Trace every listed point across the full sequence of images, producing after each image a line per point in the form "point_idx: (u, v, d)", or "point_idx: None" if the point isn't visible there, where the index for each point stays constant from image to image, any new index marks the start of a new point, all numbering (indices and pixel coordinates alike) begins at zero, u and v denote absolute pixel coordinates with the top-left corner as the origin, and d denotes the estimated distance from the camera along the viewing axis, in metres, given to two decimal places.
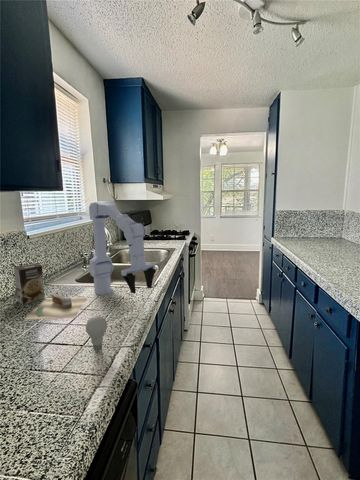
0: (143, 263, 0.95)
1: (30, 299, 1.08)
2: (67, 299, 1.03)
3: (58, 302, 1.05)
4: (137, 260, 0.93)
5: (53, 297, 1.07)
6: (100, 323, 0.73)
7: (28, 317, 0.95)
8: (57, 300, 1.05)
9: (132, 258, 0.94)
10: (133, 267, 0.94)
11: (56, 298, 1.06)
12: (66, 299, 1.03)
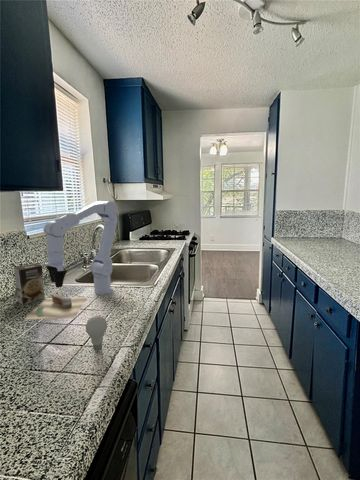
0: (48, 259, 0.99)
1: (30, 299, 1.08)
2: (67, 299, 1.03)
3: (58, 302, 1.05)
4: None
5: (53, 297, 1.07)
6: (100, 323, 0.73)
7: (28, 317, 0.95)
8: (57, 300, 1.05)
9: None
10: None
11: (56, 298, 1.06)
12: (66, 299, 1.03)
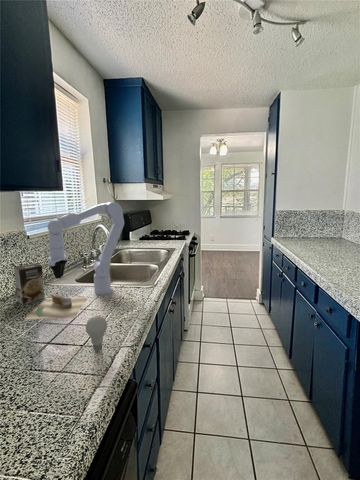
0: None
1: (30, 299, 1.08)
2: (67, 299, 1.03)
3: (58, 302, 1.05)
4: None
5: (53, 297, 1.07)
6: (100, 323, 0.73)
7: (28, 317, 0.95)
8: (57, 300, 1.05)
9: None
10: None
11: (56, 298, 1.06)
12: (66, 299, 1.03)
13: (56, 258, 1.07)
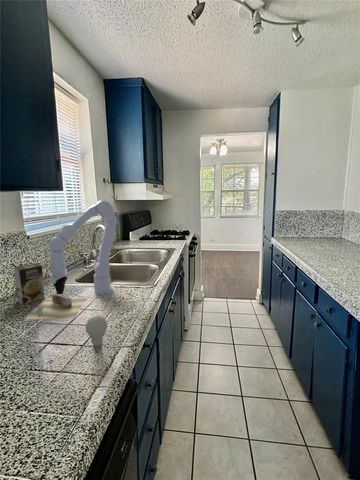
0: None
1: (30, 299, 1.08)
2: (67, 299, 1.03)
3: (58, 302, 1.05)
4: None
5: (53, 297, 1.07)
6: (100, 323, 0.73)
7: (28, 317, 0.95)
8: (57, 300, 1.05)
9: None
10: None
11: (56, 298, 1.06)
12: (66, 299, 1.03)
13: (57, 275, 1.08)
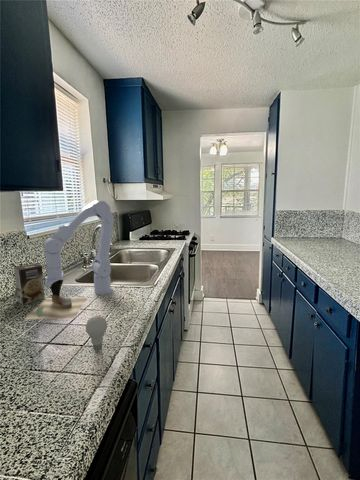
0: None
1: (30, 299, 1.08)
2: (67, 299, 1.03)
3: (58, 302, 1.05)
4: None
5: (53, 297, 1.06)
6: (100, 323, 0.73)
7: (28, 317, 0.95)
8: (57, 300, 1.05)
9: None
10: None
11: (56, 298, 1.05)
12: (66, 299, 1.03)
13: (53, 278, 1.04)
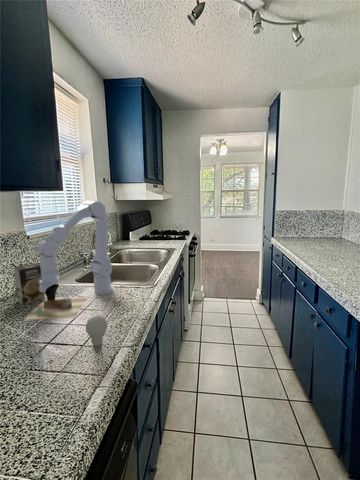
0: None
1: (30, 299, 1.08)
2: (67, 299, 1.04)
3: (54, 305, 1.02)
4: None
5: (46, 302, 1.01)
6: (100, 323, 0.73)
7: (28, 317, 0.95)
8: (52, 303, 1.02)
9: None
10: None
11: (51, 302, 1.02)
12: (66, 299, 1.03)
13: (48, 282, 0.99)
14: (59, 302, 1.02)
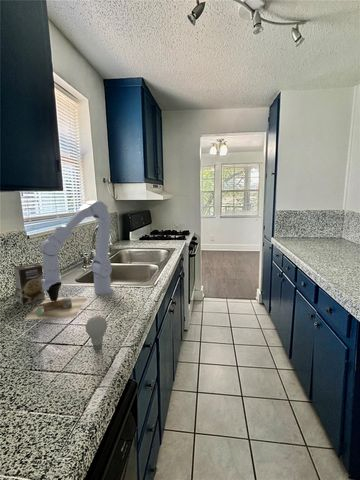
0: None
1: (30, 299, 1.08)
2: (67, 299, 1.04)
3: (55, 307, 1.01)
4: None
5: (46, 305, 0.99)
6: (100, 323, 0.73)
7: (28, 317, 0.95)
8: (53, 305, 1.00)
9: None
10: None
11: (51, 304, 1.00)
12: (66, 299, 1.03)
13: (50, 281, 1.01)
14: (60, 303, 1.02)
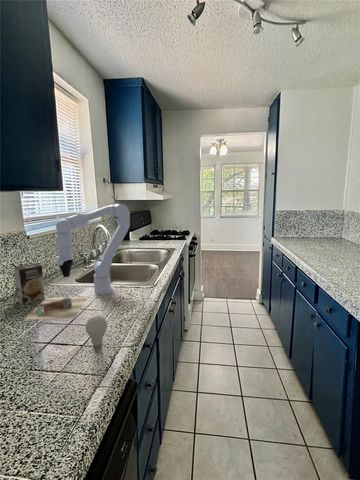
0: None
1: (30, 299, 1.08)
2: (67, 299, 1.04)
3: (55, 307, 1.01)
4: None
5: (46, 305, 0.99)
6: (100, 323, 0.73)
7: (28, 317, 0.95)
8: (53, 305, 1.00)
9: None
10: None
11: (51, 304, 1.00)
12: (66, 299, 1.03)
13: (64, 257, 1.08)
14: (60, 303, 1.02)
